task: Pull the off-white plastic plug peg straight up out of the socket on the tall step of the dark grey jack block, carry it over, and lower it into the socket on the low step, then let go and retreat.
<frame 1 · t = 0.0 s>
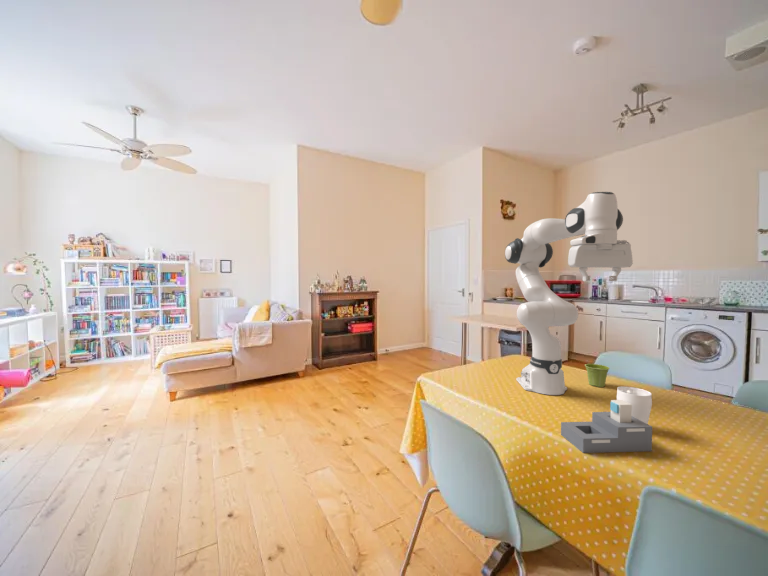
hand: (599, 281, 104), 48 cm above the table, fingers open, 8 cm apart
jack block: (604, 442, 91), on the table
plug: (620, 432, 92), point 3 cm above the table, touching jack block
plant pot: (596, 385, 142), on the table
cup: (633, 427, 101), on the table
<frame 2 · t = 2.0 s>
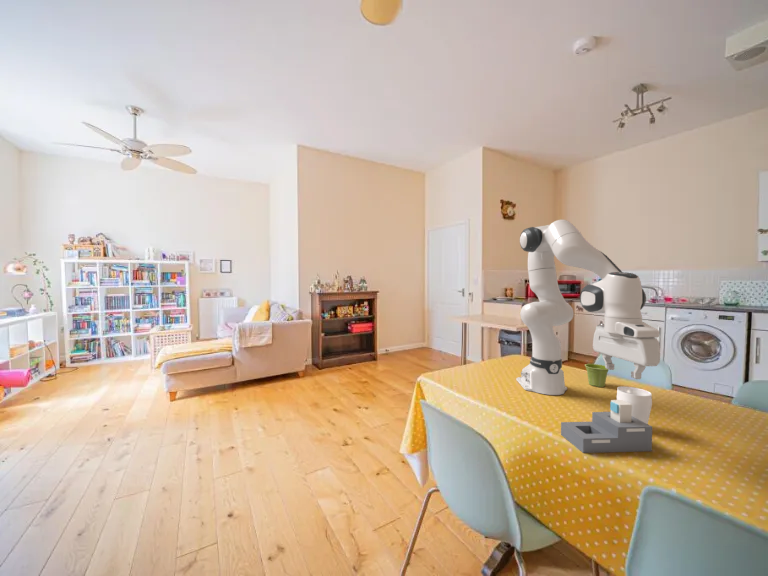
hand: (622, 373, 91), 21 cm above the table, fingers open, 8 cm apart
nothing on the table moved.
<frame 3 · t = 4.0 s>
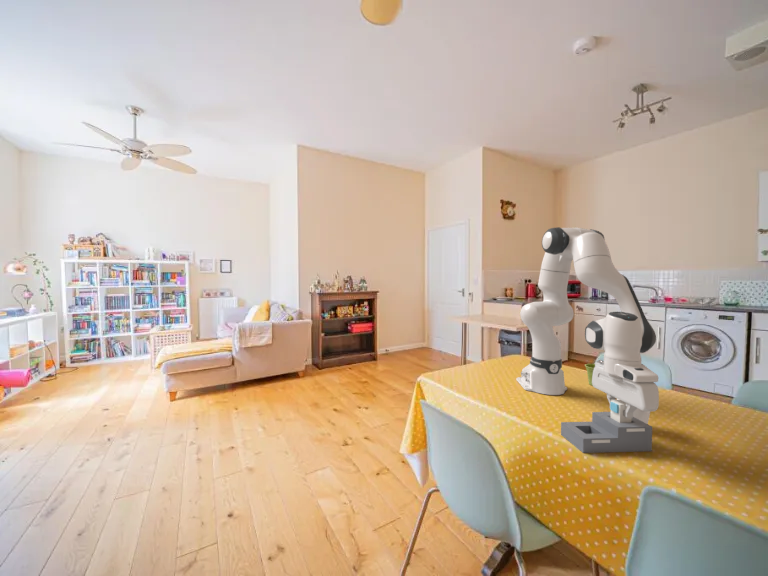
hand: (620, 413, 91), 9 cm above the table, fingers closed on plug, 3 cm apart
plug: (620, 432, 92), point 3 cm above the table, touching gripper, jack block
everything else where it was.
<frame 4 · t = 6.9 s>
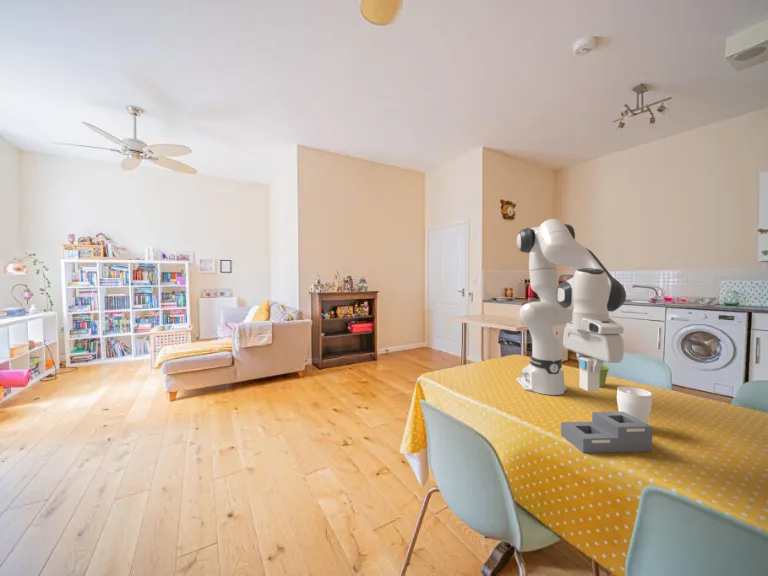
hand: (589, 370, 91), 22 cm above the table, fingers closed on plug, 3 cm apart
plug: (589, 389, 91), point 16 cm above the table, touching gripper
everything else where it was.
when the fingers open (7 cm above the table, at t = 9.7 s): plug stays where it is, resting on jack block.
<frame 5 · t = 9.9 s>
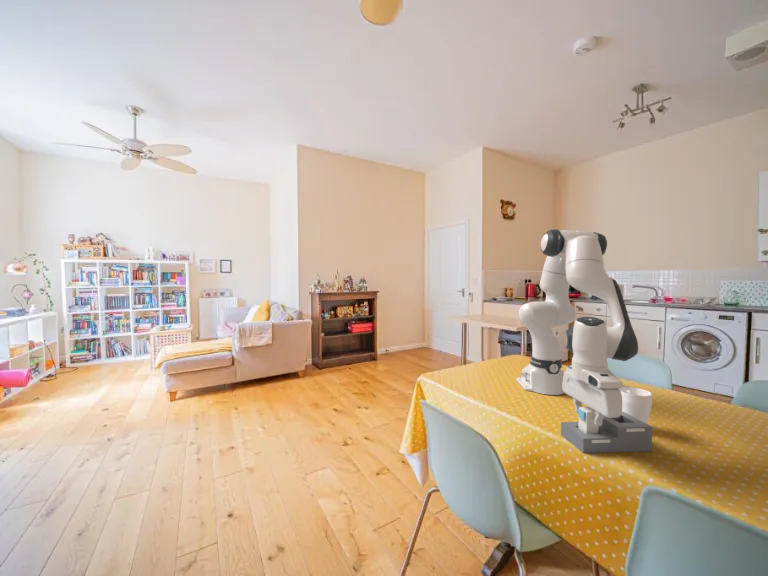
hand: (588, 419, 91), 7 cm above the table, fingers open, 6 cm apart
plug: (587, 439, 91), point 1 cm above the table, touching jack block
everything else where it was.
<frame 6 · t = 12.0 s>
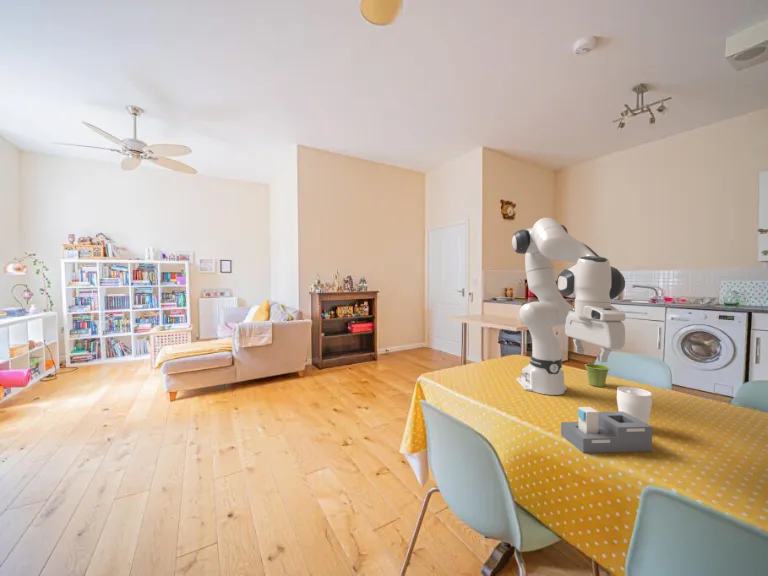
hand: (590, 357, 92), 25 cm above the table, fingers open, 8 cm apart
nothing on the table moved.
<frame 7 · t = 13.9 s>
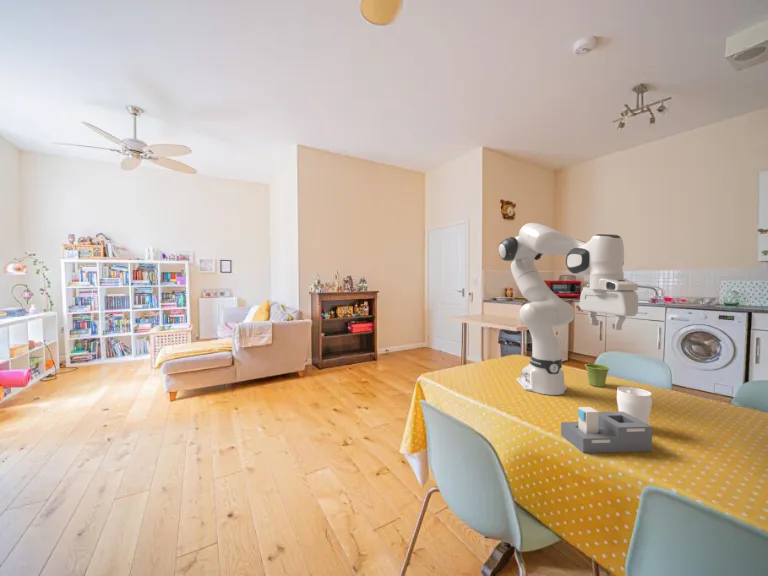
hand: (605, 327, 99), 33 cm above the table, fingers open, 8 cm apart
nothing on the table moved.
at the end: plug 0.1 cm from the target spot on the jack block, point 1.0 cm above the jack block's base; plug tilted 0°; the gripper is holding nothing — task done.
